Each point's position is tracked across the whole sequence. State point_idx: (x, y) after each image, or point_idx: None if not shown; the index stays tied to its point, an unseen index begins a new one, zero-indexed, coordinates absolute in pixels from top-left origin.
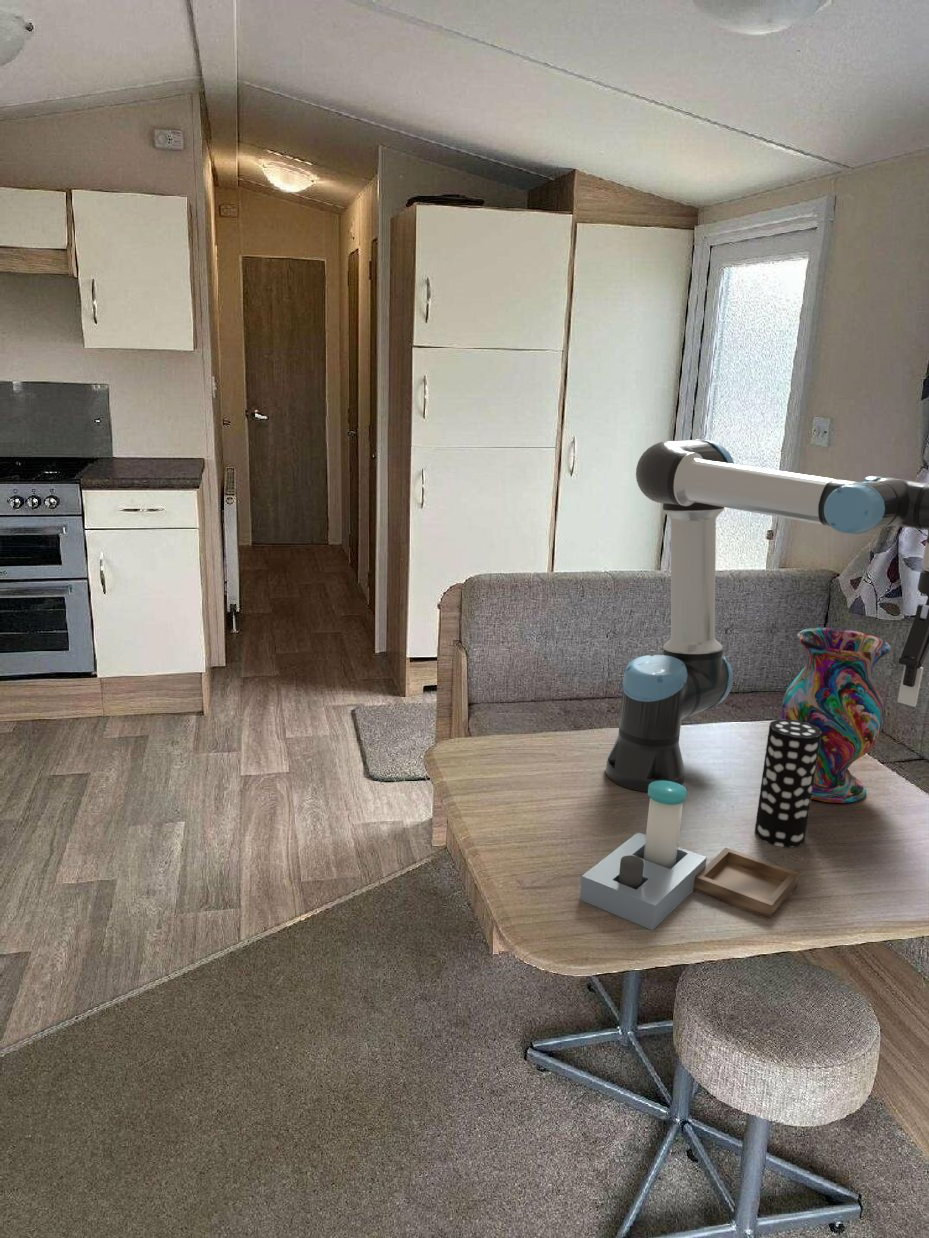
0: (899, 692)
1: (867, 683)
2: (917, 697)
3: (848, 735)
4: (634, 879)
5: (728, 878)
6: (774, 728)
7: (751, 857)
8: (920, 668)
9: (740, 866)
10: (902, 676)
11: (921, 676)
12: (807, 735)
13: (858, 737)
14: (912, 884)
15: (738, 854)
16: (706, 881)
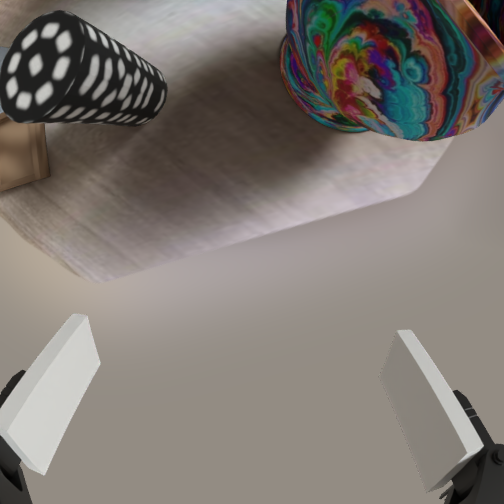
0: (55, 336)
1: (452, 83)
2: (87, 383)
3: (318, 88)
4: None
5: (15, 129)
6: (13, 47)
7: (33, 127)
8: (26, 464)
9: None
10: (19, 381)
11: (54, 445)
12: (17, 107)
13: (336, 107)
14: (148, 261)
15: None
16: None
